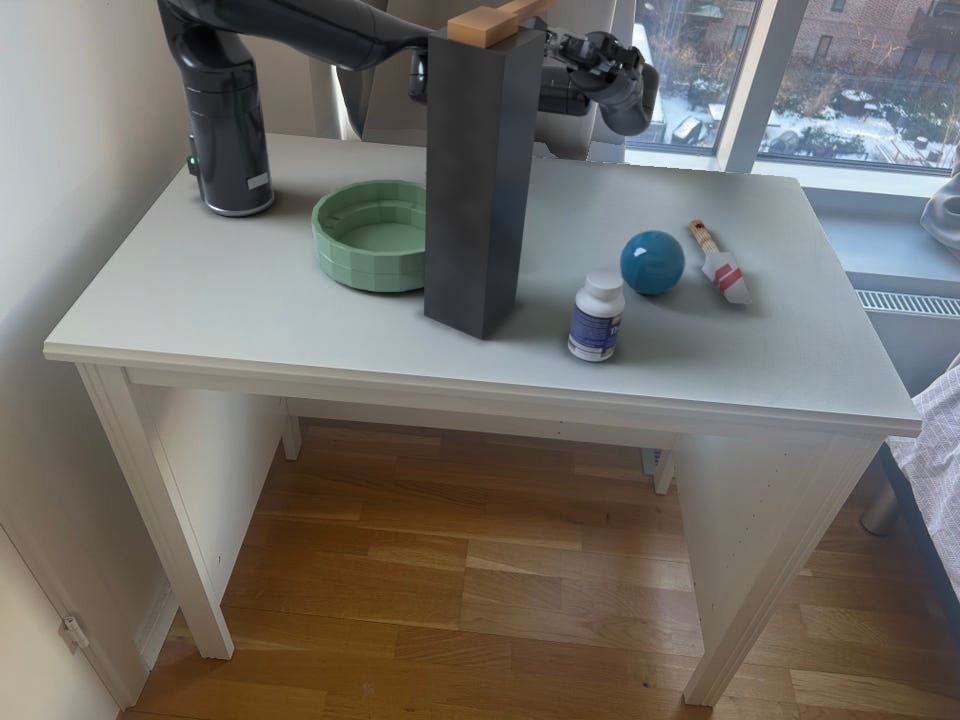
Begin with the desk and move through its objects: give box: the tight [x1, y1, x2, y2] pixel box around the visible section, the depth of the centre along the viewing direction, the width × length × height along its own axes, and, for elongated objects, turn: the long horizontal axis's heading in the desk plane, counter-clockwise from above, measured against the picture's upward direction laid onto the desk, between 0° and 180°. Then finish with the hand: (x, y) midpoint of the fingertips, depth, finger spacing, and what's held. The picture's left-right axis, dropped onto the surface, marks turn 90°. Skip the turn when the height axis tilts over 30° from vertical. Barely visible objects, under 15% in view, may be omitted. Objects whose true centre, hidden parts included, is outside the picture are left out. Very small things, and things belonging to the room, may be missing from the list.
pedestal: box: [423, 24, 546, 341], centre depth 79 cm, size 8×8×32 cm
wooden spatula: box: [447, 0, 556, 49], centre depth 70 cm, size 16×4×2 cm, turn 149°
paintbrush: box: [689, 218, 753, 304], centre depth 99 cm, size 4×3×20 cm
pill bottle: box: [567, 267, 626, 362], centre depth 82 cm, size 5×5×10 cm
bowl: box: [310, 179, 426, 293], centre depth 95 cm, size 19×19×6 cm
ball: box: [619, 229, 686, 296], centre depth 92 cm, size 8×8×8 cm
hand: (565, 32), depth 83 cm, fingers open, 8 cm apart
